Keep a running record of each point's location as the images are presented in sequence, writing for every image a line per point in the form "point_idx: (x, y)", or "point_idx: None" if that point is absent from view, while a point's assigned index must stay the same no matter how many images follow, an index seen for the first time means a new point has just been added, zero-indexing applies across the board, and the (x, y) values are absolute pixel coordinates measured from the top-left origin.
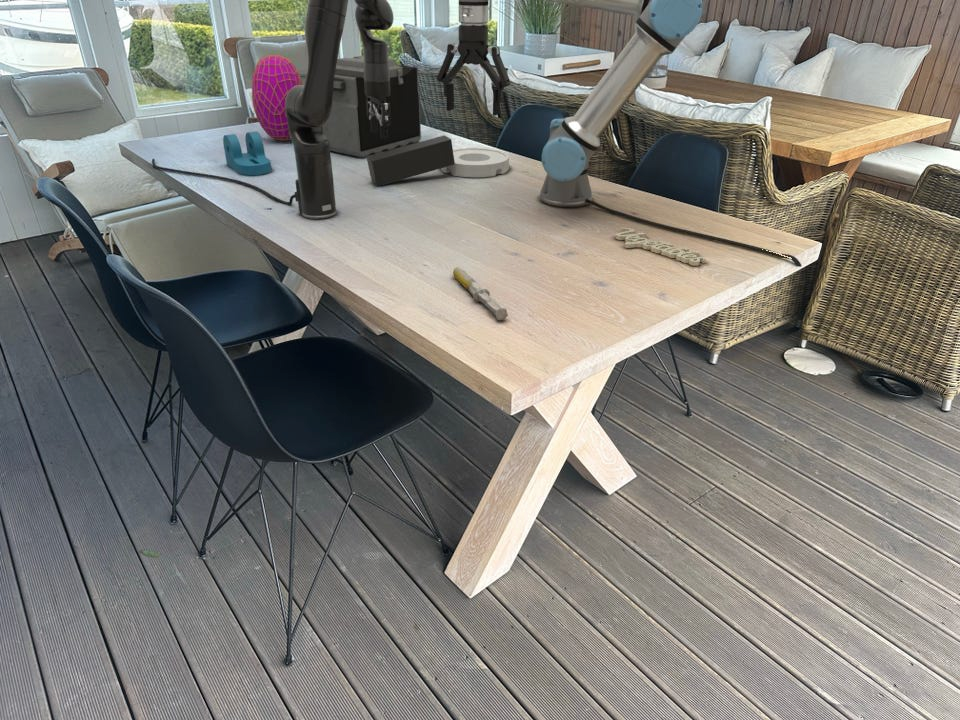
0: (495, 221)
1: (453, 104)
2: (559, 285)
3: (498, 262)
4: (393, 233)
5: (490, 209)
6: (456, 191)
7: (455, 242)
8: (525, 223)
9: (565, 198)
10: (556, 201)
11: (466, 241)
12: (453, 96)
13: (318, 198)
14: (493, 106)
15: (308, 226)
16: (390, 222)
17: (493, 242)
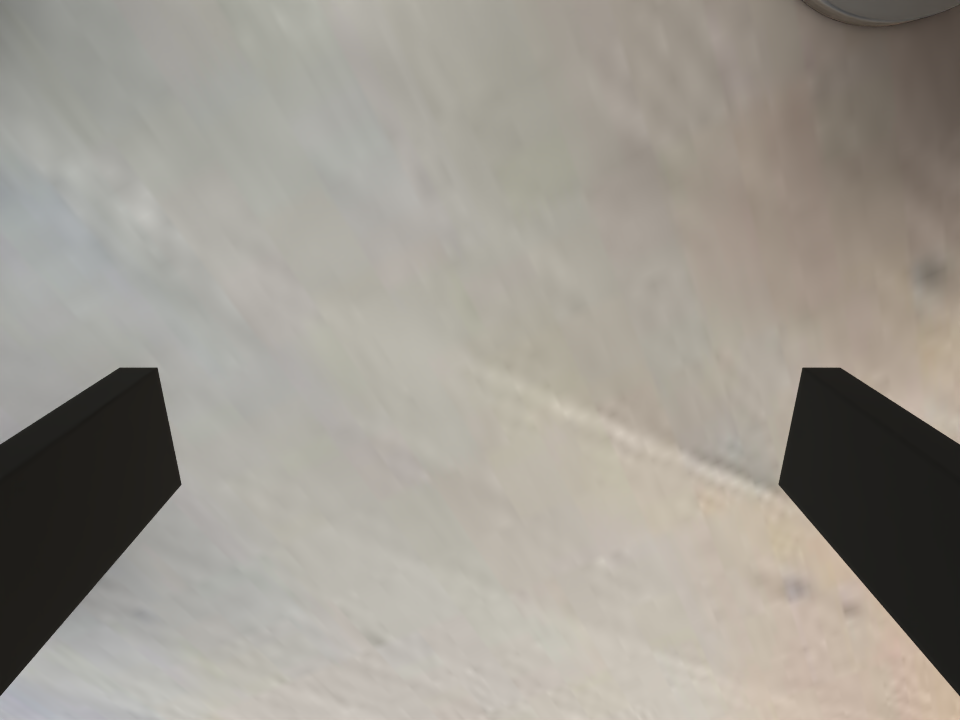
0: (641, 353)
1: (124, 400)
2: (952, 705)
3: (762, 652)
4: (365, 597)
5: (566, 219)
6: (277, 15)
7: (585, 582)
8: (765, 321)
9: (950, 4)
10: (885, 20)
11: (615, 562)
12: (46, 455)
13: None
14: (845, 553)
15: (92, 651)
16: (289, 523)
17: (702, 536)
